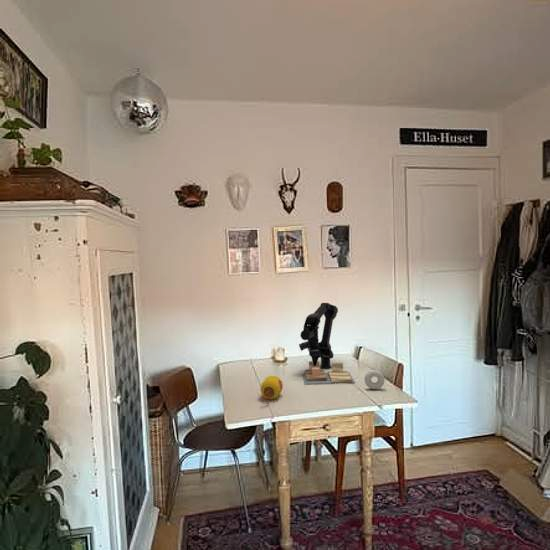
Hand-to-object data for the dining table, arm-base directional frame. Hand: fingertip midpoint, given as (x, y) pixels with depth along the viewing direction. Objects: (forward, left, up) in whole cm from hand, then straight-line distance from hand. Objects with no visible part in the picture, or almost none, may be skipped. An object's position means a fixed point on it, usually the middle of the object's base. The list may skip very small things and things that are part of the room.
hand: (314, 363), depth 242 cm
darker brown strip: (+7, 0, -6) cm, 9 cm away
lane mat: (+11, +7, -6) cm, 14 cm away
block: (+10, 0, -4) cm, 11 cm away
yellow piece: (+39, -24, -6) cm, 46 cm away
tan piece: (+12, +13, -6) cm, 19 cm away
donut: (+32, +28, -6) cm, 43 cm away
